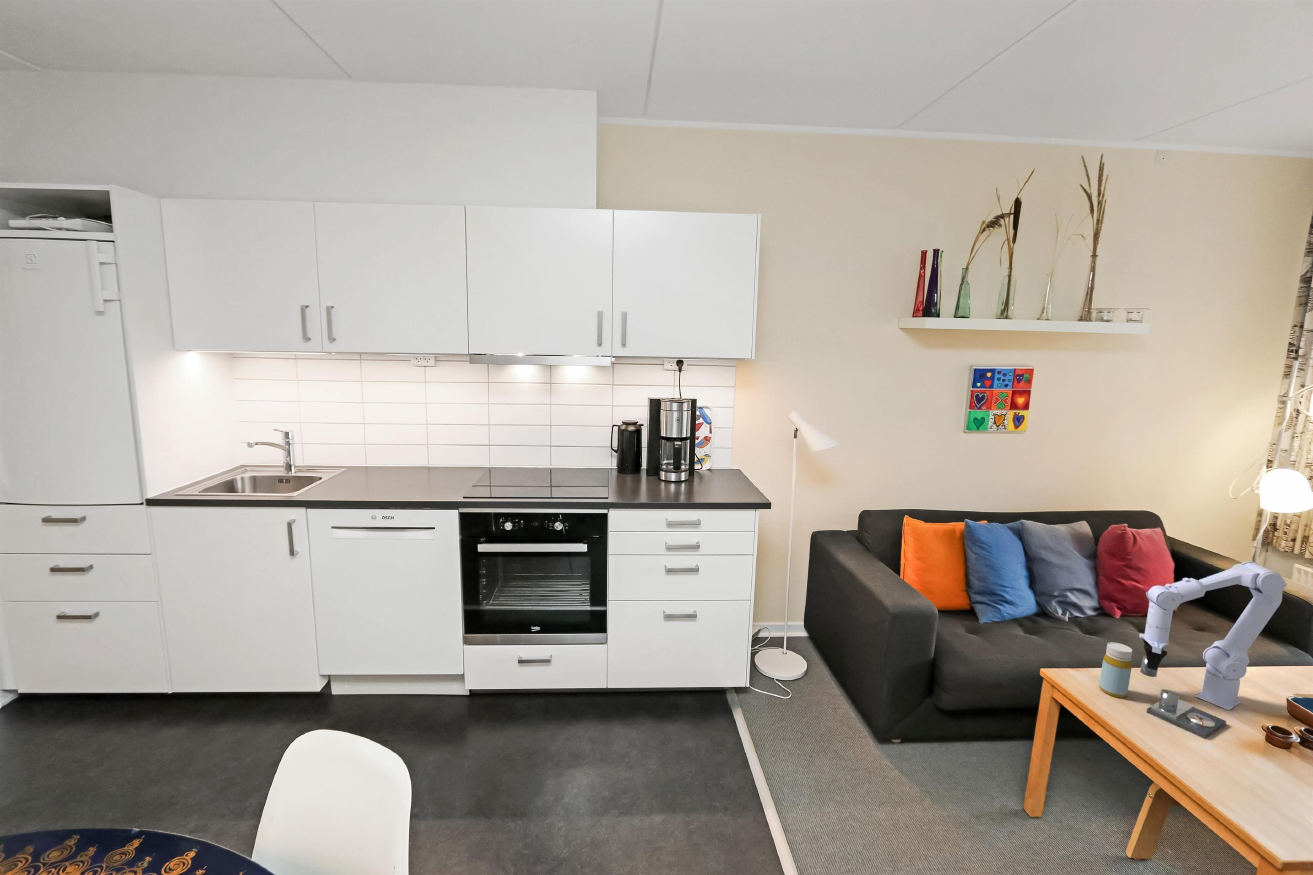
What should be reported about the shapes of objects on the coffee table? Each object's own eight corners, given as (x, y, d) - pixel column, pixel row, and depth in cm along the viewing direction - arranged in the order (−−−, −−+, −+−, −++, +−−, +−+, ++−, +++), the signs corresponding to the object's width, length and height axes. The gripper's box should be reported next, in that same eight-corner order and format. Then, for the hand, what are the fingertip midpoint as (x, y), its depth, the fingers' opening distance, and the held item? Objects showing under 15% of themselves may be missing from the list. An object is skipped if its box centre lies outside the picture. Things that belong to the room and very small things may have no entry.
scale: (1168, 700, 184) (1169, 693, 184) (1225, 724, 172) (1227, 717, 172) (1146, 712, 177) (1147, 705, 177) (1204, 738, 166) (1206, 731, 165)
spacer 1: (1140, 668, 191) (1143, 653, 191) (1156, 673, 189) (1159, 658, 188) (1139, 673, 188) (1142, 658, 188) (1156, 678, 186) (1158, 663, 185)
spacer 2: (1156, 707, 176) (1158, 691, 175) (1161, 703, 178) (1164, 687, 178) (1173, 714, 173) (1175, 698, 172) (1178, 710, 175) (1181, 694, 174)
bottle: (1098, 683, 192) (1105, 639, 190) (1126, 691, 188) (1133, 646, 186) (1098, 692, 187) (1106, 647, 185) (1127, 701, 183) (1134, 655, 181)
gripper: (1140, 613, 194) (1134, 652, 196) (1142, 629, 182) (1136, 670, 184) (1169, 619, 190) (1162, 659, 192) (1173, 636, 178) (1165, 678, 180)
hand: (1151, 665), depth 188 cm, fingers closed on spacer 1, 4 cm apart
